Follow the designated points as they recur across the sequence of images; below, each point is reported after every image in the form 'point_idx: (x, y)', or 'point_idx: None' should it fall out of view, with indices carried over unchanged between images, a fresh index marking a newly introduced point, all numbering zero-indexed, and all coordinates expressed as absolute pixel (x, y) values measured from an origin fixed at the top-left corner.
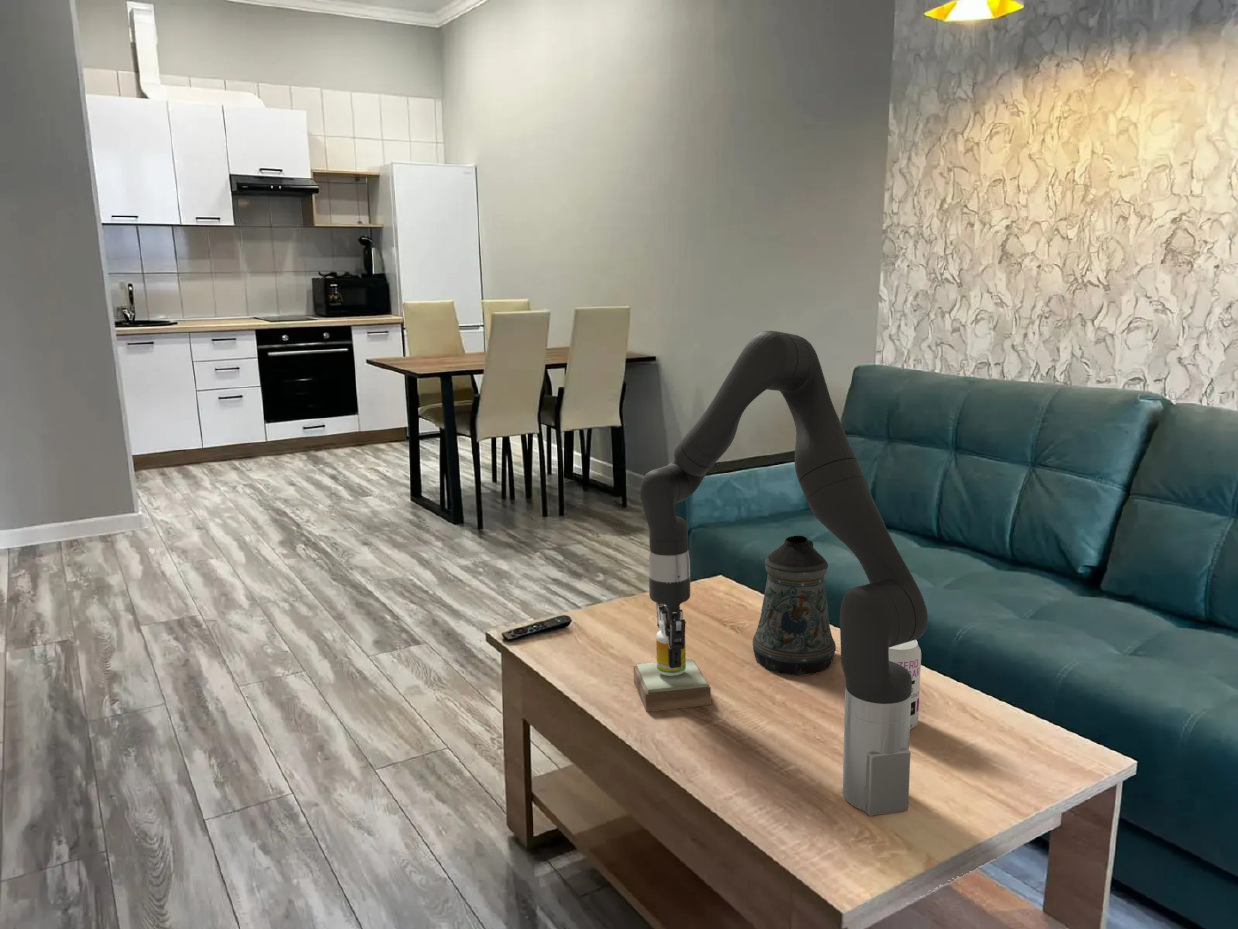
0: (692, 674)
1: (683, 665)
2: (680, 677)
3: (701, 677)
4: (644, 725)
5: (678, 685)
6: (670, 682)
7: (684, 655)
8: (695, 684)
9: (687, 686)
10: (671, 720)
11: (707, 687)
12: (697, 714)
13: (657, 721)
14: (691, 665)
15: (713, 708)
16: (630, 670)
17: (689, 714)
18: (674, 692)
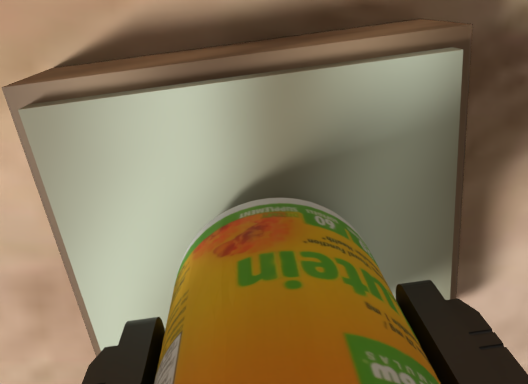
0: (298, 137)
1: (352, 240)
2: None
3: (356, 78)
4: (517, 322)
5: (436, 237)
6: (388, 277)
7: (357, 276)
8: (451, 134)
9: (453, 184)
10: (513, 225)
11: (463, 46)
12: (497, 105)
13: (503, 278)
14: (145, 128)
15: (459, 8)
16: (4, 366)
17: (485, 143)
18: (457, 248)
